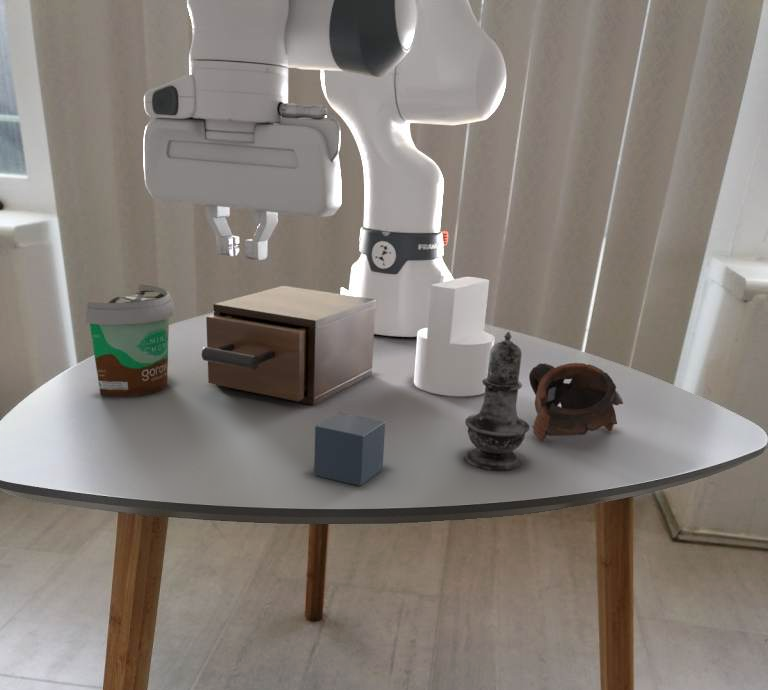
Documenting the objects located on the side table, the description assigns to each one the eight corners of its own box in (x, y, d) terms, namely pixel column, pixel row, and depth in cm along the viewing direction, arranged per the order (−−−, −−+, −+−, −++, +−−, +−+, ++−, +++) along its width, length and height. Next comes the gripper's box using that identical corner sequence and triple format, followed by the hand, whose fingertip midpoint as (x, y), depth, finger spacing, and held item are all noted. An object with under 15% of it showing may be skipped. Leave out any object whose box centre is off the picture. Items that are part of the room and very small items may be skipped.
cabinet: (313, 405, 89) (315, 320, 86) (215, 385, 94) (213, 303, 90) (372, 374, 102) (375, 299, 98) (282, 358, 106) (283, 285, 102)
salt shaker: (520, 450, 80) (537, 326, 75) (528, 474, 75) (546, 341, 70) (460, 446, 80) (472, 322, 75) (462, 469, 75) (477, 337, 70)
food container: (148, 406, 86) (141, 308, 82) (93, 399, 87) (84, 302, 83) (196, 375, 97) (192, 287, 93) (146, 369, 98) (141, 282, 94)
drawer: (274, 413, 83) (275, 341, 80) (181, 393, 88) (178, 324, 84) (355, 372, 99) (358, 310, 96) (273, 357, 103) (273, 297, 100)
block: (337, 459, 76) (339, 411, 74) (382, 469, 74) (385, 421, 72) (313, 475, 72) (314, 426, 70) (360, 486, 70) (362, 436, 68)
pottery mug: (639, 442, 86) (645, 385, 80) (570, 491, 84) (570, 437, 77) (559, 383, 93) (558, 326, 86) (493, 428, 91) (487, 373, 84)
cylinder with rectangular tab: (467, 401, 94) (478, 293, 89) (399, 385, 98) (406, 281, 93) (501, 384, 101) (514, 283, 96) (437, 370, 105) (445, 272, 100)
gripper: (356, 107, 75) (350, 265, 81) (171, 97, 82) (178, 242, 88) (323, 104, 70) (319, 273, 76) (128, 94, 77) (139, 248, 83)
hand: (242, 257), depth 82 cm, fingers closed
